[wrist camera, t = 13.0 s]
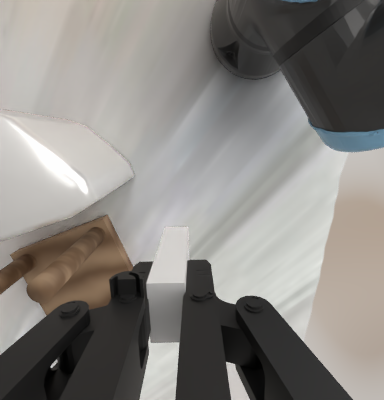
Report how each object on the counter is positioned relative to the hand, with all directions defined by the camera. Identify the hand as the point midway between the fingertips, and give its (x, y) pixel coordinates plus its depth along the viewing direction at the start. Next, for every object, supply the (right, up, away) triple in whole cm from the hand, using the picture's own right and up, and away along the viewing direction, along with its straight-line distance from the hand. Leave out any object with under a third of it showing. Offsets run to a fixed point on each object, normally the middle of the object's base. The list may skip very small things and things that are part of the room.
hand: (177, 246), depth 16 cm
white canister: (-19, +11, +31) cm, 38 cm away
